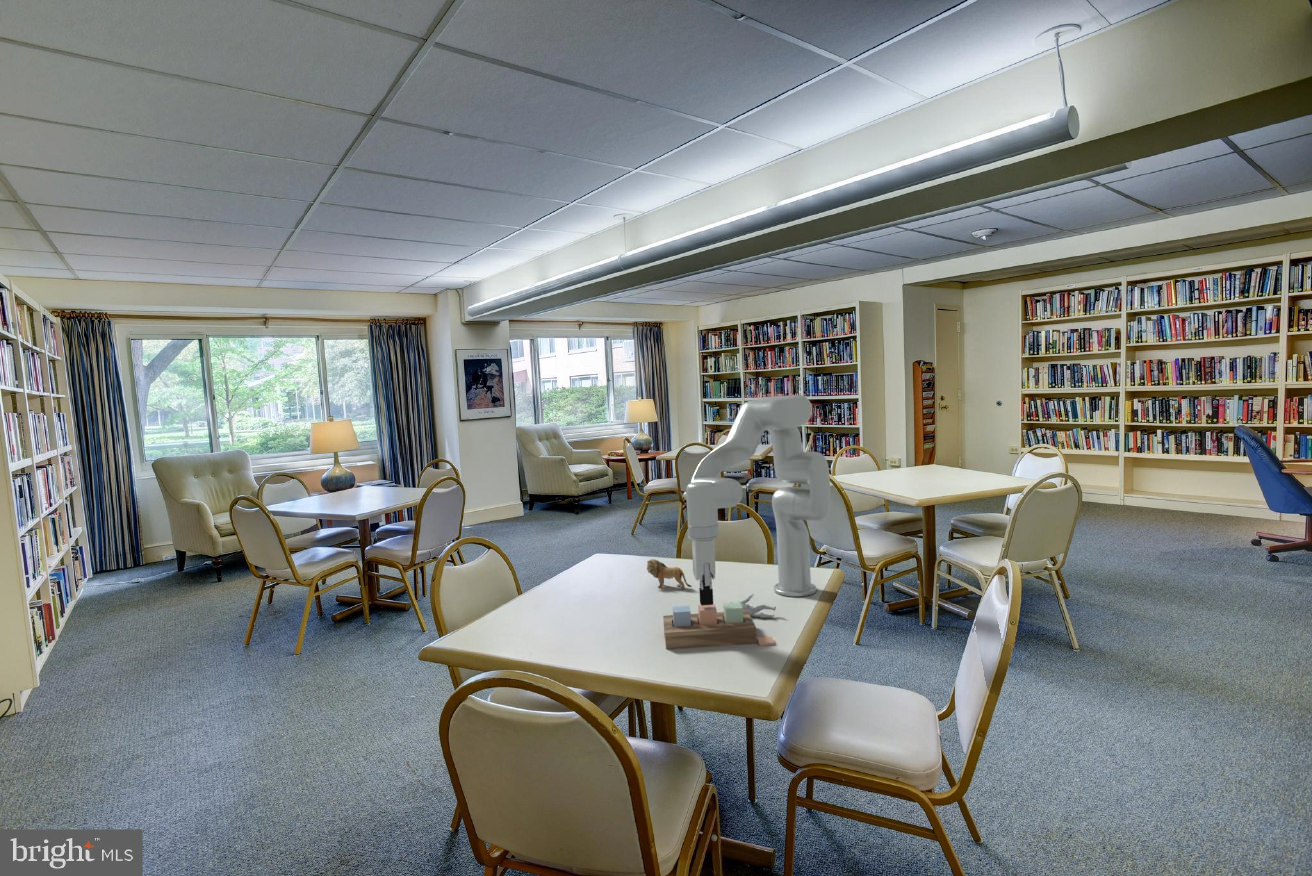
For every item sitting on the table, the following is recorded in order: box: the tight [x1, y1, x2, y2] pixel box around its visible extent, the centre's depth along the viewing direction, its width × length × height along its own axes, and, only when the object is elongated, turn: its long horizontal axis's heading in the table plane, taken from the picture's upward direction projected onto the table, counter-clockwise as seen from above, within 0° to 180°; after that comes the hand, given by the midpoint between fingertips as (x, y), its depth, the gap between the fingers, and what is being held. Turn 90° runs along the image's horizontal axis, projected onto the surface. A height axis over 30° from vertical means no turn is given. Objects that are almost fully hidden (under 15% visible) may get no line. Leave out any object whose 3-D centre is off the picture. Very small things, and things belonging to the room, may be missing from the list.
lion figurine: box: [646, 558, 692, 590], centre depth 200 cm, size 15×5×9 cm, turn 71°
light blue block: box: [672, 605, 692, 627], centre depth 156 cm, size 4×4×6 cm
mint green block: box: [723, 602, 743, 624], centre depth 157 cm, size 4×4×6 cm
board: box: [662, 610, 758, 650], centre depth 157 cm, size 12×22×4 cm, turn 92°
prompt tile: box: [756, 636, 776, 647], centre depth 151 cm, size 4×4×1 cm
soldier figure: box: [729, 593, 777, 619], centre depth 169 cm, size 8×5×12 cm
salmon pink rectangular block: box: [697, 603, 718, 625], centre depth 157 cm, size 4×4×6 cm
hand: (706, 603), depth 156 cm, fingers closed
